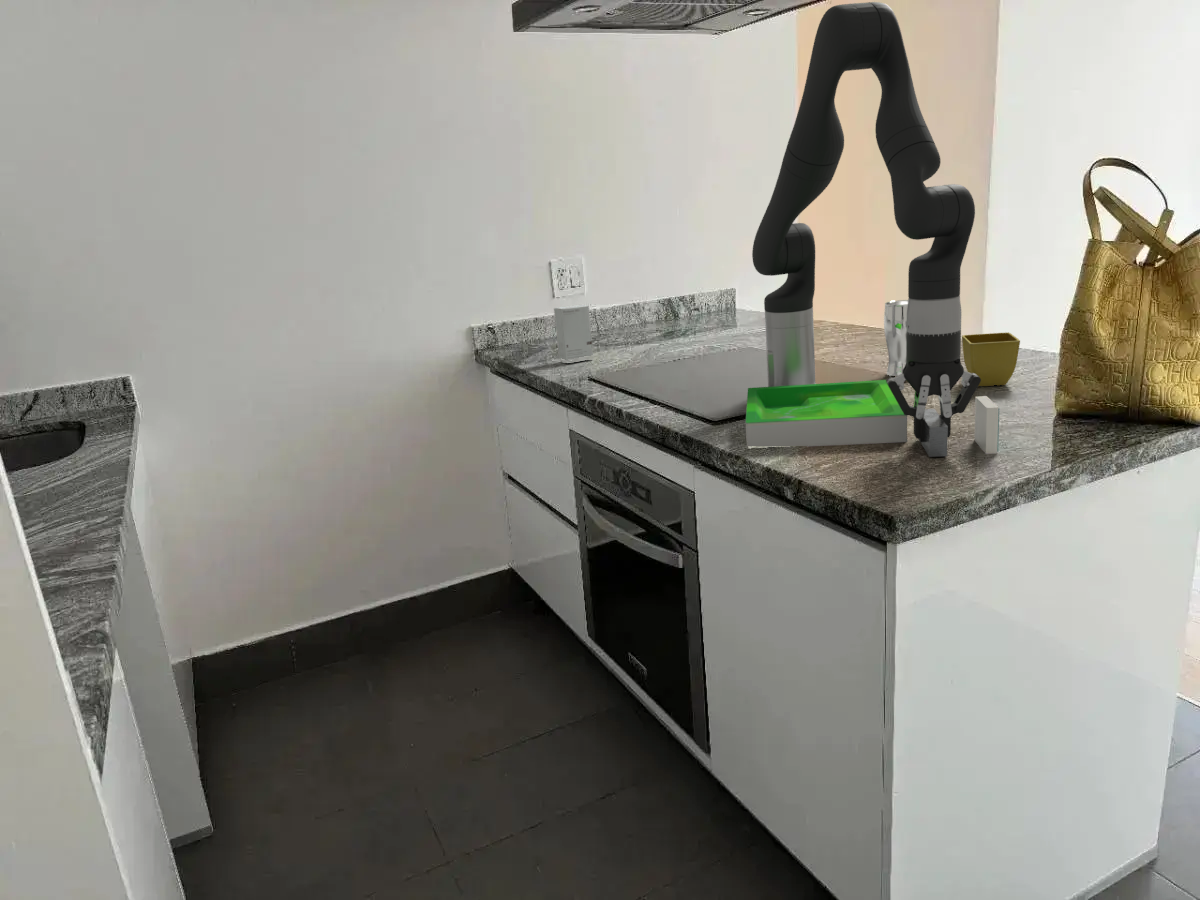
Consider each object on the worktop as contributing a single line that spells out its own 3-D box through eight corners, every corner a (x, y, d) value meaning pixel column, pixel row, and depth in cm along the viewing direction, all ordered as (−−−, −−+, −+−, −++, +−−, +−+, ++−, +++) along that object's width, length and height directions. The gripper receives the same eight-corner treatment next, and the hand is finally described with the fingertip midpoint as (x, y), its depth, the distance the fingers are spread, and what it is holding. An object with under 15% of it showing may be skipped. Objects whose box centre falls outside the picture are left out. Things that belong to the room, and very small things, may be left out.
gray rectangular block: (929, 456, 128) (929, 427, 127) (917, 436, 137) (917, 409, 136) (947, 456, 127) (947, 426, 126) (933, 436, 137) (934, 408, 135)
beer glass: (921, 370, 183) (921, 299, 179) (917, 377, 177) (917, 304, 173) (886, 370, 186) (886, 300, 182) (882, 378, 180) (881, 305, 176)
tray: (907, 444, 137) (907, 414, 136) (747, 452, 142) (745, 422, 141) (886, 406, 161) (885, 379, 159) (749, 413, 165) (747, 388, 164)
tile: (985, 454, 128) (986, 408, 126) (974, 440, 134) (975, 396, 132) (998, 453, 127) (999, 407, 125) (986, 440, 134) (987, 395, 132)
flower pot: (1019, 387, 161) (1021, 340, 159) (969, 390, 163) (970, 343, 161) (1008, 377, 170) (1009, 331, 167) (960, 380, 172) (961, 335, 169)
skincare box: (566, 365, 231) (559, 309, 227) (558, 362, 236) (552, 307, 232) (595, 360, 234) (589, 304, 229) (586, 357, 239) (581, 303, 235)
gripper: (887, 335, 125) (887, 449, 130) (990, 328, 122) (986, 445, 127) (880, 326, 132) (881, 435, 137) (977, 320, 129) (974, 431, 134)
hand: (932, 439), depth 132 cm, fingers closed on gray rectangular block, 2 cm apart
